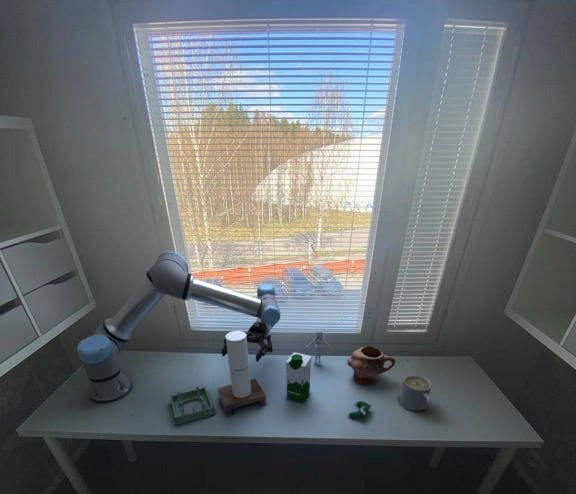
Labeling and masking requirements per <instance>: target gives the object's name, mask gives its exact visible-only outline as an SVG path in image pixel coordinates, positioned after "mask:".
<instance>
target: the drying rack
mask: <svg viewBox="0 0 576 494" xmlns="http://www.w3.org/2000/svg"><path fill="white" fill-rule="evenodd" d="M176 392H177V393H174V394H170V395H169V398H170V403H171V408H172V413H173V417H174V420H175V424H176V426H178V425H182V424H184V423H189V422H193V421H196V420H199V419H203V418H206V417H210V416H213V415H215V410H214V406H213V403H212V401H211V398H210V395H209V392H208V390H207V387H206V386H202V387H199V386H198V385H196V386H195V389H191V390H187V391H182V392H180V390H177V391H176ZM194 401H199V402H200V406H201V409H199V410H195V406H194V405H191V409H192V412H188V413H186V412H185V407H184V404H186V403H189V402H194Z"/></svg>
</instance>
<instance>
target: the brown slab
mask: <svg viewBox="0 0 576 494" xmlns="http://www.w3.org/2000/svg"><path fill="white" fill-rule="evenodd" d="M250 384H251V394H250V395H249V396H247V397H244V398H238V397H235V396H234V395H233V390H232V384H229V385H224V386H220V387H217V393H218V396H219V400H220V403H221V405H222V407H223V409H224V412H225V415H226V416H230V415H233V411H232V410H233V409H236V408H239V407H243V406H246V405H250V404H254V403H259V405H260V406H265V405H266V400H267V394H266V393H265V391H264V390H263V388H262V387H261V385H260V383H259V382H258V380H257V379H256V378H252V379H250Z"/></svg>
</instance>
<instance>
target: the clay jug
mask: <svg viewBox="0 0 576 494" xmlns="http://www.w3.org/2000/svg"><path fill="white" fill-rule="evenodd" d="M388 361H389V362H391V364H390V365H389V366H388V367H385V363H386V362H388ZM346 364H347V365H348V366H349V367H350V368H352V370H353V375H352V377H353V380H354V381H355V382H356V383H358V384H360V385H362V386H363V385H364V386H372V385H374V384H375V383H376V382H377V379H378V377H379V376H380V375H381V374H384V373H386V372H388V371H390V370H391V369H392V368H393V367H394V366H395V365H396V359H395V357H393V356H392V355H384V352H383V351H382V350H381V349H379V348H377V347H374V346H370V345H368V346H361V347H360V348H358V349H356V350H354V351H353V352H352V353H351V356H349V357H348V358H347V361H346Z"/></svg>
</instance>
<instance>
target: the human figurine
mask: <svg viewBox="0 0 576 494" xmlns="http://www.w3.org/2000/svg"><path fill="white" fill-rule="evenodd" d="M314 342H316V343H315V345H314V352H315V355H314V357H315V362H314V364H315V366H317V365H319V366H320V365H321V357H322V355H321V354H322V351H323V344H322V342H324V343H325V344H326V345H327V346H329V347H330V349H332V346H331V344H329V343H328V341H326V340H325V338H324V337H323V331H322V330H321V329H317V330H316V332H315V337H314V338H313V340H312V341H310V342H309V343H308V344H306V346H305V349H307V348H308V347H309V346H310V345H312V344H313V343H314Z"/></svg>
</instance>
